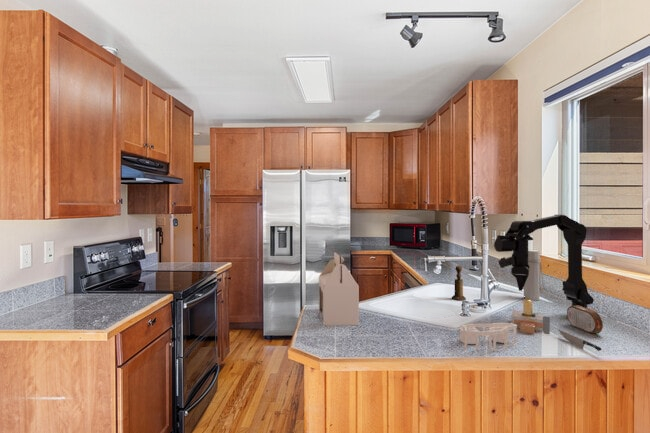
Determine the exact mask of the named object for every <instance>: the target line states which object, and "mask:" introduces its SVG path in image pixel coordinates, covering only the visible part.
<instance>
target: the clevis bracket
mask: <svg viewBox="0 0 650 433" xmlns="http://www.w3.org/2000/svg"><path fill="white" fill-rule="evenodd" d="M532 315H533V317H530V316H524V310H523V311H522V310H514V309H513V310H512V313H511V315H510V323H512V324H516V325H517V329H518V328H519V329H520V330H519V333H521V334H528V335H535V333H536V331H537V332H543V316H544V313H540V312H532Z"/></svg>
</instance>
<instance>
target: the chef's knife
mask: <svg viewBox="0 0 650 433" xmlns="http://www.w3.org/2000/svg"><path fill="white" fill-rule="evenodd" d="M557 331H558V332H559V334H560V335H561V336H562V337H563V338H564V339H565V340H566V341H567V342H569V343H570V342H571V343H570V344H572V343H573V345H575V346H576V347H579V348H580V349H584V347H585V345H586V346H589V347H590V348H591V347H592V348H594V349H595V350H596V351H598V352H599V351H602V348H601V347H600V346H598V345H596V344H594V343H591V342H589V341H587V340H584V339H583V338H580V337H578V336H575V335H573V334H571V333H568V332H566V331H564V330H561V329H559V328H557Z"/></svg>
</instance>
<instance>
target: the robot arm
mask: <svg viewBox="0 0 650 433" xmlns="http://www.w3.org/2000/svg"><path fill="white" fill-rule="evenodd" d="M552 226H553V227H554V226H556V227H557V228H558V229H559V230H560V231H561V232H562V236H563V238H564V240H565V241H566V244H567V267H568V268H567V269H568V271H567V272H568V275H567V279H566V280H563V281H562V291H563V294H564V295H565V297H566V299H567V301H571V306H576V305H579V306H582V307H585V308H588V309H589V305H594V304H593V303H594V300H595V298H594V297H592V295H591V294H589V292H588V288H587V287H588V286H587V284H586V282H585V280H584V279H583V247H582V246H583V243H584V242H585V240H586V238H587V233H588V231H587V226H586V225H585V224H582V223H580V222H578V221H576V220H574V219H572V218H570V217H569V216H567V215H566V214H554V215H551V216H545V217H542V218H538V219H537V218H536V219H531V220H514V221H513V222H511V224H510V226H509V229H508V230H507V231H506V233H505V234H504V235H501V234H500V235H499V234H498V235H497V237H496V239H495V240H494V243H493V247H494V250H495V251H496V252H498V253H501V252H502V253H503V252H506V253H507V252H511V253H512V254H511V256H508V257H505V256H504V257H501V258H500V259H499V260H497V262H498V265H499V267H500V269H504V268H505V267H508V266H512V267H511V270H510V273H511V276H513V277H514V278H515V280H516V284H517V287H518V291H519V292H521V291H523V290H524V285H525V282H526V280H527V278H528V276H529V269H530V264H529V263H528V256H529V253H528V250H529V241H533V240H534V238H533V237H532V236H530V234H533V233H534V232H535V231H537V230H540V229H544V228H550V227H552Z"/></svg>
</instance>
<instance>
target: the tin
mask: <svg viewBox="0 0 650 433" xmlns="http://www.w3.org/2000/svg"><path fill="white" fill-rule="evenodd" d="M566 312H567V314H566V316H567V320H568V322H569V323H570V325H571V326H573V327H574V328H577V329H579V330H581V331H582V332H583V331H584V332H586V333H589V334H600V333H601V332H602V330H603V326H604V325H603V324H604V323H603V319H602V318H601V315H600V314H599V313H598V312H597V311H595V310H593V309H590V308H589V307H588V308H585V307H582V306H579V305H576V306H572V305H570V306H569V307H568V308H567V310H566Z"/></svg>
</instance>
